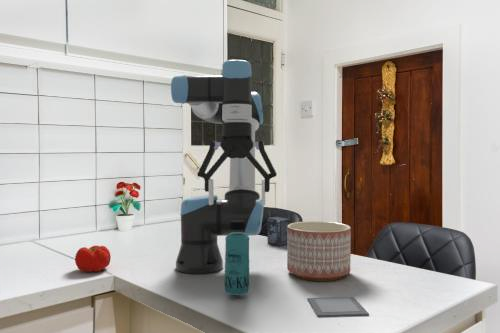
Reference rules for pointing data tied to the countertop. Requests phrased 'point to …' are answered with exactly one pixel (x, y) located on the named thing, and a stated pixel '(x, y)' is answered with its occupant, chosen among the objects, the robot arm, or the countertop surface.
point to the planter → (318, 250)
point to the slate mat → (337, 306)
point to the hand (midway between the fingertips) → (237, 204)
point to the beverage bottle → (237, 260)
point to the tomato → (92, 258)
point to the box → (277, 231)
